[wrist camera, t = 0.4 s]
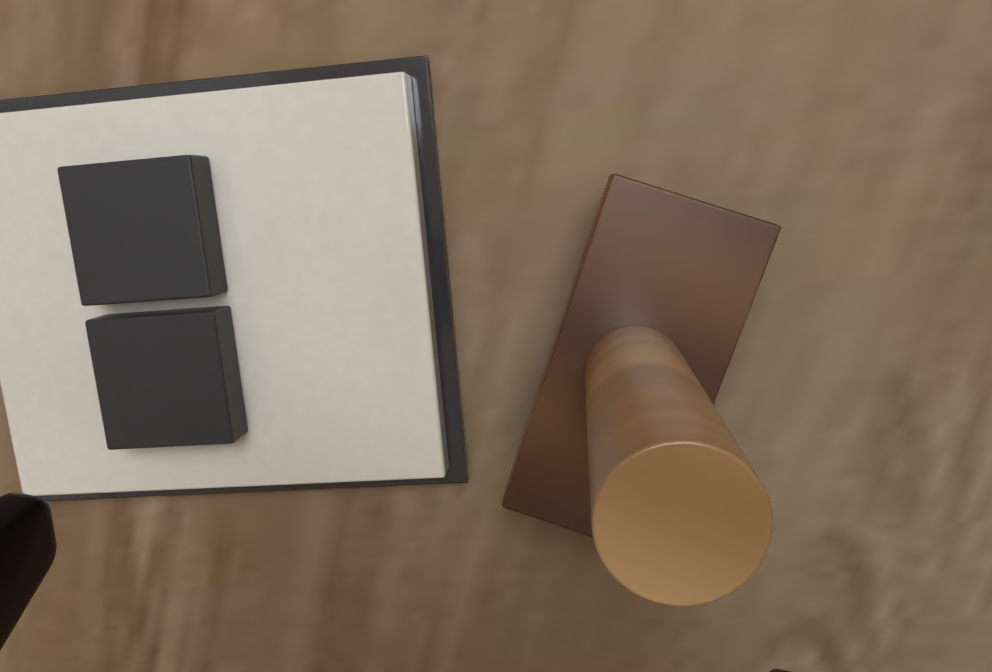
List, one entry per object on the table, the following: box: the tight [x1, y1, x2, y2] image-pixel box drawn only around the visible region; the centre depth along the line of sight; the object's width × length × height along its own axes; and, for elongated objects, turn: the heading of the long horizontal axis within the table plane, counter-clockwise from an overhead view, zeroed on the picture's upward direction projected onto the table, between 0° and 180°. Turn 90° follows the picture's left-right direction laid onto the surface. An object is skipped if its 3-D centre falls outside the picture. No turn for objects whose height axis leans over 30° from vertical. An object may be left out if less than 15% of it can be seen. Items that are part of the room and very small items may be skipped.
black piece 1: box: [57, 155, 227, 306], centre depth 23 cm, size 4×4×1 cm
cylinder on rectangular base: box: [502, 174, 781, 606], centre depth 18 cm, size 9×4×13 cm, turn 163°
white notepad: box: [0, 56, 468, 501], centre depth 25 cm, size 15×13×1 cm
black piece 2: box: [85, 306, 248, 450], centre depth 24 cm, size 4×4×1 cm
